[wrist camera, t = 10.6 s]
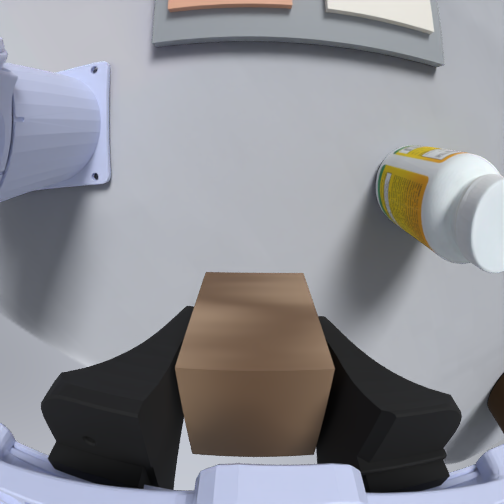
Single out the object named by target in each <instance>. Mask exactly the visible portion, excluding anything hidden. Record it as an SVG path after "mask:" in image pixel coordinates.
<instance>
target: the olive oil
mask: <svg viewBox="0 0 504 504" xmlns="http://www.w3.org/2000/svg"><path fill="white" fill-rule="evenodd" d="M488 408H489V410H490V411H491V413H492V415H493V416H494V418H495V420H496V421H497V423H498V425H499V426H500V428H501V430H502V431H503V433H504V374H503V375H502V376H501V377H500V379H499V380H498V382H497V383H496V384H495V386H494V388H493V389H492V391H491V393H490V396H489V399H488Z"/></svg>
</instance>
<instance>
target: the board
mask: <svg viewBox="0 0 504 504" xmlns="http://www.w3.org/2000/svg"><path fill="white" fill-rule="evenodd" d="M229 41H269V42H291V43H306V44H317V45H326V46H335V47H343V48H350V49H356V50H363V51H369V52H374V53H380V54H385V55H390V56H394V57H399V58H403V59H408V60H412V61H416V62H420V63H424V64H427V65H431V66H435V67H439V66H442V65H444V52H443V41H442V32H441V24H440V17H439V10H438V3H437V0H155V9H154V20H153V34H152V44H154V45H155V46H156V47H163V46H171V45H181V44H192V43H206V42H229Z"/></svg>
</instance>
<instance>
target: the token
mask: <svg viewBox="0 0 504 504" xmlns="http://www.w3.org/2000/svg"><path fill="white" fill-rule="evenodd" d="M175 371H176V377H177V383H178V388H179V393H180V398H181V404H182V409H183V413H184V418H185V423H186V428H187V432H188V437H189V441H190V445H191V450H192V453H193V454H201V455H216V456H239V457H242V456H243V457H277V456H300V455H314V452H315V449H316V445H317V442H318V438H319V434H320V430H321V426H322V422H323V419H324V414H325V410H326V406H327V402H328V398H329V393H330V389H331V385H332V380H333V375H334V371H335V368H334V364H333V361H332V358H331V355H330V352H329V349H328V346H327V342H326V339H325V336H324V333H323V330H322V327H321V324H320V321H319V318H318V315H317V312H316V309H315V306H314V303H313V300H312V297H311V294H310V291H309V288H308V285H307V282H306V280H305V277H304V274H303V273H221V272H206V273H205V276H204V279H203V282H202V285H201V288H200V291H199V294H198V297H197V300H196V303H195V306H194V309H193V312H192V315H191V318H190V321H189V325H188V328H187V331H186V334H185V337H184V340H183V343H182V346H181V350H180V353H179V356H178V359H177V362H176V365H175Z"/></svg>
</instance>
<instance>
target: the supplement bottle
mask: <svg viewBox="0 0 504 504" xmlns="http://www.w3.org/2000/svg"><path fill="white" fill-rule="evenodd" d="M376 196H377V200H378V203H379V206H380V208H381V210H382V211H383V213H384V214H385V215H386V216H387V217H388V218H389V219H390V220H391V221H392V222H394V223H395V224H396V225H398V226H399V227H400V228H402V229H403V230H405V231H406V232H407V233H409V234H410V235H412V236H413V237H414V238H416V239H417V240H418V241H420V242H421V243H423V244H424V245H425V246H427V247H428V248H429V249H431V250H432V251H433V252H435V253H436V254H437V255H438V256H440V257H441V258H443V259H445V260H447V261H449V262H452V263H457V264H466V263H472V264H474V265H476V266H477V267H479V268H480V269H482V270H483V271H486V272H488V273H500V272H503V271H504V177H503V176H501V175H500V174H499V172H498V171H497V169H496V168H495V167H494V166H493V165H492V164H491V163H490V162H489V161H487V160H486V159H484V158H483V157H480V156H478V155H475V154H471V153H466V152H460V151H454V150H447V149H440V148H434V147H426V146H417V145H408V146H403V147H400V148H397V149H395V150H394V151H392V152H391V153H390V154H389V155H388V156H387V157H386V158H385V159H384V160H383V162H382V164H381V166H380V168H379V170H378V173H377V179H376Z"/></svg>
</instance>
